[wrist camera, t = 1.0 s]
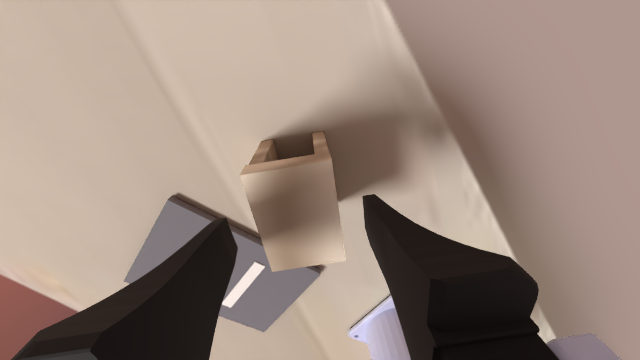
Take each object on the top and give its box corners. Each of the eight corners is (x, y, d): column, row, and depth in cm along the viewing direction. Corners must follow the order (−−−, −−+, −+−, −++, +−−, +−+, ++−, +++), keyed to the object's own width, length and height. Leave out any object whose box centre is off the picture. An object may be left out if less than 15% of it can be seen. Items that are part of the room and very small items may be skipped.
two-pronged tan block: (323, 128, 17) (331, 160, 11) (334, 205, 19) (345, 260, 14) (260, 138, 17) (239, 175, 11) (281, 214, 19) (272, 272, 14)
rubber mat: (320, 269, 22) (320, 275, 22) (265, 326, 26) (263, 333, 25) (171, 195, 18) (166, 200, 18) (128, 275, 21) (122, 282, 21)
